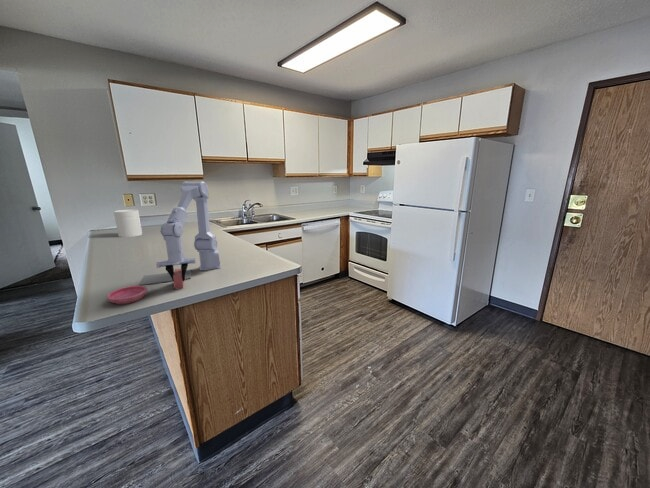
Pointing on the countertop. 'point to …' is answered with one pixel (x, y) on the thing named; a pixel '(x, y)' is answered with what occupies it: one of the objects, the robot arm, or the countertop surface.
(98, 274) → the countertop surface
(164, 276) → the mat
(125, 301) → the saucer
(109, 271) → the countertop surface
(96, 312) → the countertop surface
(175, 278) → the box
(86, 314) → the countertop surface
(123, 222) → the canister
